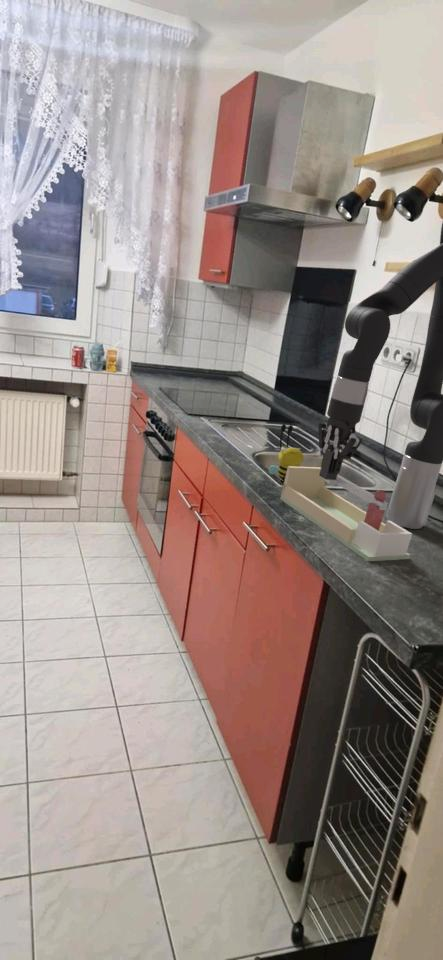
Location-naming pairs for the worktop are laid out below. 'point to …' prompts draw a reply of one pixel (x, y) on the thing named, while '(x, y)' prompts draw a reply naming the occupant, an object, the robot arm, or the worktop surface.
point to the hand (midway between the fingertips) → (329, 471)
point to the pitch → (342, 517)
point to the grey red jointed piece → (357, 492)
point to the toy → (286, 456)
